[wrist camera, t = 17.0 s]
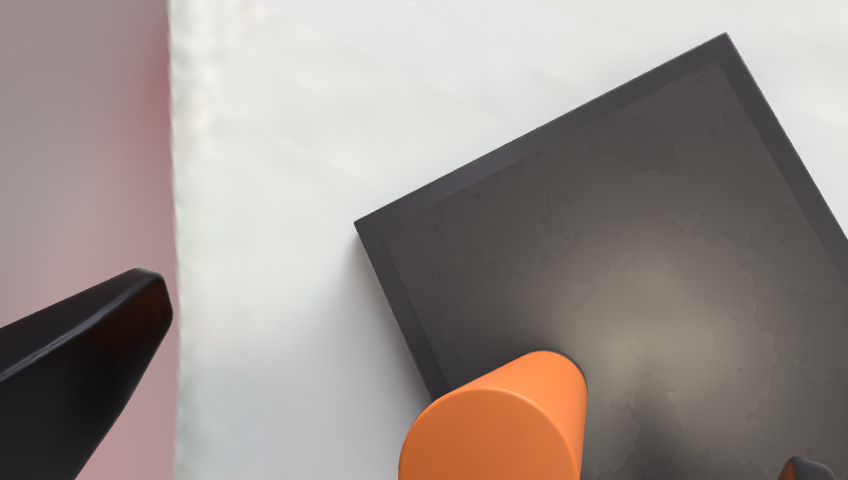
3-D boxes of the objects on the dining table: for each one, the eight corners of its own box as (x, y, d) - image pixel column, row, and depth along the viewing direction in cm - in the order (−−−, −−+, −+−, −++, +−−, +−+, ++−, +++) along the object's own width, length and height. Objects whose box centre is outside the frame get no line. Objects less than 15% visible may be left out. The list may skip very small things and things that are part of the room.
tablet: (1097, 685, 19) (1119, 701, 18) (633, 841, 21) (634, 863, 20) (722, 40, 23) (727, 30, 22) (359, 225, 25) (351, 221, 24)
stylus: (529, 442, 22) (443, 604, 10) (493, 369, 23) (368, 431, 10) (602, 409, 22) (612, 531, 9) (564, 335, 22) (525, 355, 10)
